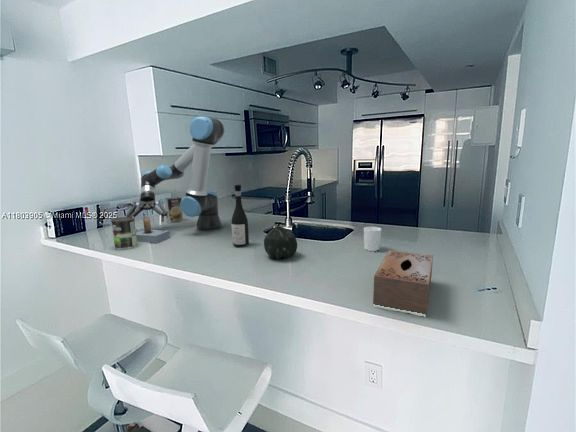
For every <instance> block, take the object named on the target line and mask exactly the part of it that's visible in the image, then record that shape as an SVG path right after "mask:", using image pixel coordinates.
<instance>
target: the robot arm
mask: <svg viewBox="0 0 576 432" xmlns="http://www.w3.org/2000/svg"><path fill="white" fill-rule="evenodd" d="M224 126H225V125H224V124H223V123H222V121H221V120H220V119H217V118H213V117H208V116H201V115H200V116H196V117H194V118H193V119H192V121H191V122H190V123H189V133H190V135H191V137H192V143H193V144H192V145H191V146H190V147H189V148H188V149H187V150H186V151H185V152H184V153H183V154H182V155H181V156H180V157H178V159H177V160H176V161H175V162H173V164H172V165H171V166H168V165H166V164H161V165H159V166H158V167H157V168H155V169H154V170H152V171H147V170H146V171H144V172H143V173H141V178H140V196H139V197H140V201H139V202H136V201H134V202H133V203H132V204H133V205H132V206H131V207H130V209H129V210H128V212H127V213H126V215H125V217H133V218H136V217H137V216H138V215H139V214H140V213H141V212H143V211H148V210H149V211H151V210H153V211H154V212H155V213H157V214H158V215H159V228H160V229H161V228H162V226H163V222H164V221H165V217H166V216H167V212H166V208H165V207H164V206H163V205H162V202H161V200H158V201H156V186H158V184H160V183H162V182H164V181H170V180H178V179H181V178H183V177H184V174H185V172H186V171H187V170H189V168H190V167H191V173H190V180H189V181H190V182H189V186H188V187H189V188H188V189H186V190H185V195H184V196H183V198H181V202H180V207H181V210H182V214H184V215H185V216H187V217H191V218H194V217H198V218H197V222H196V230H197V231H198V230H199V231H203V232H204V231H207V232H209V231H215V230H219V229H221V228H223V223H222V220H221V218H220V216H219V205H218V204H219V201H218V192H217V191H216V190H206V186H207V179H208V173H209V168H210V167H209V165H210V158H211V152H212V148H213V147H214V146H215V145H216V144H217V143H218V142H220V140H222V138H223V137H224V134H225V127H224ZM156 205H157V206H158V207H159V208H160V209H159V208H158V207H157V206H156Z"/></svg>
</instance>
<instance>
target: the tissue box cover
mask: <svg viewBox="0 0 576 432" xmlns="http://www.w3.org/2000/svg"><path fill="white" fill-rule="evenodd" d="M433 260H434V255H430V254H422V253H415V252H407V251H398V250H391V249H389V250H388V251H387V253H386V255H385V257H384V258H383V260H382V261H381V263H380V265H379V267H378V268H377V270H376V272H375V274H374V277H373V295H372V296H373V297H372V298H373V299H372V305H373V304H375V305H380V306H384V307H390V308H395V309H400V310H406V311H411V312H417V313H422V314H427V313H428V308H427V307H428V306H429V300H428V299H430V293H429V291H430V292H431V285H430V284H432V275H433V274H432V273H433Z"/></svg>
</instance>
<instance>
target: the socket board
mask: <svg viewBox="0 0 576 432" xmlns="http://www.w3.org/2000/svg"><path fill="white" fill-rule="evenodd" d="M136 230H137V231H136V238H137V243H149V244H159V243H161V242H164V241H166V240H168V239H170V230H164V229H163V230H162V229H161V230H160V229H151V233H150V234H145V231H144V228H140V229H136Z"/></svg>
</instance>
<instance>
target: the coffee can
mask: <svg viewBox="0 0 576 432" xmlns="http://www.w3.org/2000/svg"><path fill="white" fill-rule="evenodd" d="M135 218H136V217H135ZM135 218H133V217H127V216H123V217H115V218H113V219H111V220H110V222H111V227H112V228H111V229H112V234H113V235H112V237H113V242H114V243H113V244H114V249H115V250H121V251H122V250H130V249H134V248H136V247H137V246H138V242H137V238H136V230H137V229H136V223H135V222H136V221H135Z"/></svg>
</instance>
